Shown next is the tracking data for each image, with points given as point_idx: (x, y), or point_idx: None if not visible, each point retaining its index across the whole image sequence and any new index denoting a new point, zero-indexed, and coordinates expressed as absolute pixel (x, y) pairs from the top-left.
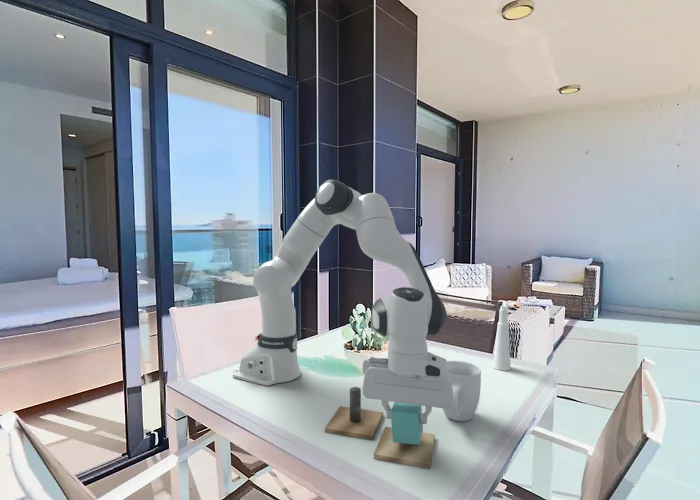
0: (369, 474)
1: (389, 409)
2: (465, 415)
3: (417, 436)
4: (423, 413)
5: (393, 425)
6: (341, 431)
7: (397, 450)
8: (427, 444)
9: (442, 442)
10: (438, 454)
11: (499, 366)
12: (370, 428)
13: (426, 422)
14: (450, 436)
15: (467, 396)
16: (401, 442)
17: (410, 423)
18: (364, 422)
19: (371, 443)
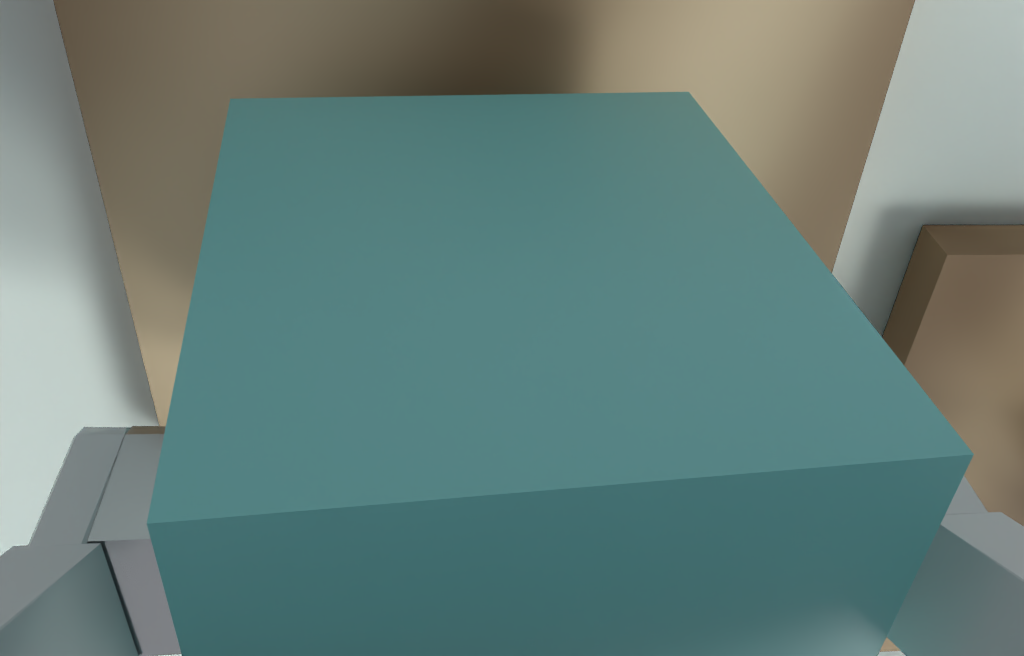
0: None
1: (915, 585)
2: None
3: (254, 167)
4: (154, 646)
5: (768, 246)
6: None
7: (592, 9)
8: (196, 268)
9: (69, 396)
10: (28, 155)
11: None
12: (957, 385)
13: (84, 466)
14: (23, 511)
15: None
16: (548, 100)
17: (391, 309)
18: (1014, 467)
19: (941, 151)
